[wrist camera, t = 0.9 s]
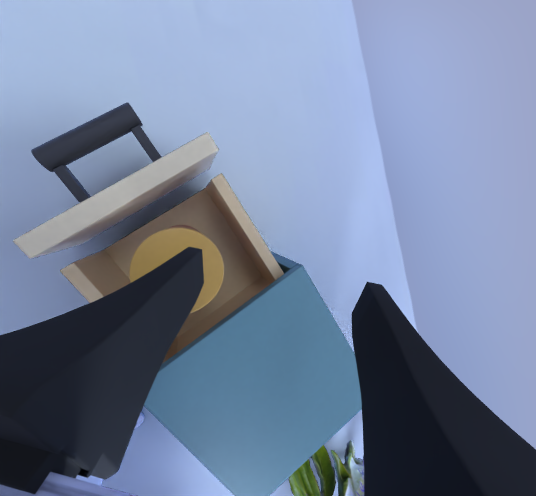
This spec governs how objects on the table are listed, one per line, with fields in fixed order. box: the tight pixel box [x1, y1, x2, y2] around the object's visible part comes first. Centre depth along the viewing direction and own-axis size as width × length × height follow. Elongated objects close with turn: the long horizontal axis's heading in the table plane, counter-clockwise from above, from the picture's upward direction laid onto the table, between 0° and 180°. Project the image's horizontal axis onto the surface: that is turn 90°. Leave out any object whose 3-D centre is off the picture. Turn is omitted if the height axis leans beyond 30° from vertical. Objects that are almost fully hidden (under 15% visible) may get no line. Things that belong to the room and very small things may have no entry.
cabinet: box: [144, 251, 362, 496], centre depth 21 cm, size 13×13×8 cm
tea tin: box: [129, 225, 224, 313], centre depth 17 cm, size 5×5×8 cm
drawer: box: [13, 103, 284, 363], centre depth 18 cm, size 16×12×7 cm
